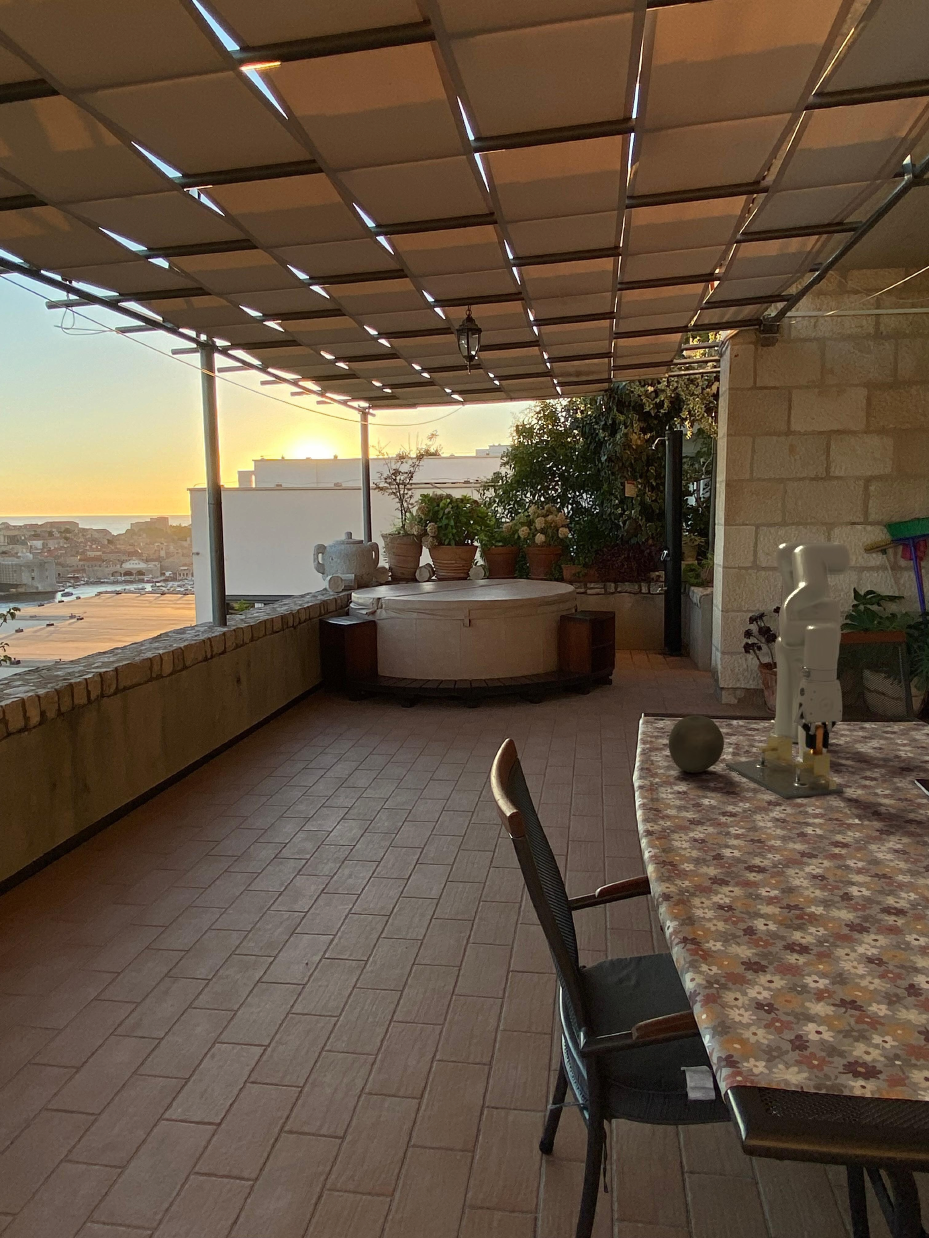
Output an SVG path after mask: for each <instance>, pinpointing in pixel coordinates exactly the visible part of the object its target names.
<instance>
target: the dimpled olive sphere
mask: <svg viewBox="0 0 929 1238" xmlns="http://www.w3.org/2000/svg"><path fill="white" fill-rule="evenodd" d="M724 747H725V739H724V736H723V733H722V731H721V730H720V727H719V726H718V725H717V723H716V722H715V721H714V720H713V719H712V718H709V717H707V716H703V715H688V716H685V717H683V718H681V719H679V720H678V721H677V722H676V723H675V724H674V726H673V727H672V729H671V731H670V734H669V737H668V750H669V754H670V756H671V759H672V761H673V762H674V764H675V765H676V767H677V768H678V769H680V770H681V771H683V772H685V771H686V773H689V772H691V774H696V773H702V772H705V771H707V770H708V769H710V768H711V767H713V766H714V765H716V763H718V761H719V760H720V759H721V757H722V754H723V751H724V749H725V748H724Z"/></svg>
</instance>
